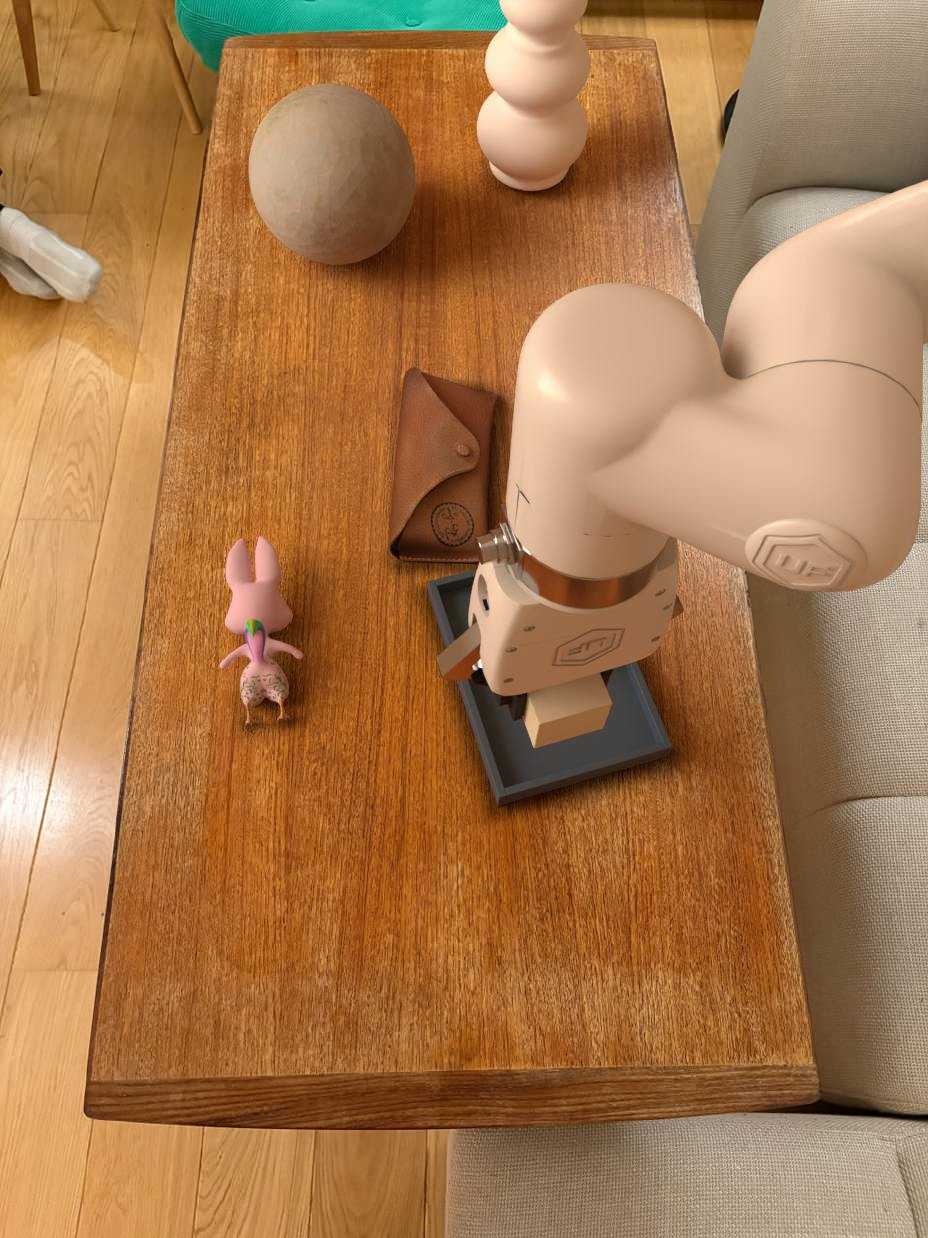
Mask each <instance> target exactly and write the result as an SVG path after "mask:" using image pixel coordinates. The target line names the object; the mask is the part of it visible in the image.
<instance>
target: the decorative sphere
mask: <svg viewBox="0 0 928 1238" xmlns="http://www.w3.org/2000/svg"><path fill="white" fill-rule="evenodd" d="M249 151H250V152H249V156H248V170H247V171H248V183H249V188H250V193H251V196H252V199H253V202H254V205H255V209H256V210H257V212H258V214H259V216H260V218H261V220H262V222H263V223H264V225H265V226H266V228H267V229H268V230H269V232H271V234H272V235H273V236H274V237H275V238H276V240H277V241H279V242H280V244H282V245H283V247H285V248H287V249H288V250H290V251H292V252H293V253H295V254H296V255H298V256H299V257H302V258H303V259H306V260H309V261H312V262H315V263H319V264H325V265H333V266H334V265H335V266H336V265H337V266H339V265H350V264H354V263H358V262H361V261H364V260H366V259H369V258H371V257H373V256H375V255H377V253H380V252H381V251H382V250H384V249H385V248H386V247H387V246H388V245H390V244H391V243H392V241H393V240H394V239H395V238H396V237H397V235H398V234H399V233H400V231H401V230H402V229H403V227H404V226H405V224H406V222H407V220H408V218H409V215H410V213H411V209H412V206H413V204H414V201H415V200H414V199H415V194H416V193H415V192H416V186H417V185H416V184H417V177H416V163H415V160H414V159H415V158H414V155H413V150H412V146H411V144H410V142H409V138H408V137H407V135H406V133H405V131H404V128H403V127H402V126H401V124H400V122H399V121H398V119H397V118H396V117H395V116H394V115H393V113H392V112H391V111H390V110H389V109H388V108H387V107H386V106H384V104H383V103H381V102H380V101H379V100H377V99H376V98H375V97H373V96H371V95H370V94H369V93H366V92H364V91H363V90H360V89H358V88H355V87H352V86H349V85H346V84H341V83H340V84H339V83H316V84H312V85H307V86H304V87H301V88H299V89H297V90H294V91H292V92H290V93H289V94H287V95H286V96H284V97H282V98H281V99H280V100H279V101H277V102H276V103H275V104H274V105H273V106H272V107H271V108H270V110H269V111H268V112H267V113H266V114H265V115H264V116H263V119H262V120H261V121H260V123H259V125H258V127H257V130H256V132H255V134H254V136H253V140H252V142H251V147H250V150H249Z"/></svg>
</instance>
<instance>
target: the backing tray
mask: <svg viewBox="0 0 928 1238" xmlns="http://www.w3.org/2000/svg"><path fill="white" fill-rule="evenodd" d="M476 571H477V568H474V569H471V570H467V571H463V572H459V573H456V574H455V573H454V574H451V575H447V576H444V577H439V578H435V579H432V580H428V581H427V594H428V598H429V601H430V604H431V607H432V610H433V613H434V616H435V620H436V622H437V625H438V627H439V631H440V634H441V637H442V640H443V641H442V642H443V643H444V647H445V649H446V648H448V647H449V646H450V645H451V644H452V643H453V642H454V641H455V640H456V639H458V638H459V637H460V636H461V635H462V634H463V633H464V632H465V631H466V630H468V629H469V623H468V615H469V606H470V598H471V592H472V587H473V583H474V579H475V575H476ZM456 683H457V687H458V689H459V693H460V696H461V699H462V701H463V705H464V708H465V711H466V714H467V716H468V720H469V723H470V726H471V729H472V732H473V735H474V738H475V742H476V744H477V747H478V750H479V753H480V757H481V760H482V762H483V766H484V770H485V771H486V775H487V778H488V781H489V784H490V787H491V790H492V792H493V797H494V799H495V802H496V805H497V807H499V806H503V805H506V804H509V803H513V802H517V801H520V800H524V799H527V798H530V797H533V796H538V795H541V794H543V793H547V792H551V791H555V790H558V789H561V788H564V787H565V788H566V787H568V786H571V785H574V784H578V783H582V782H585V781H588V780H591V779H595V778H599V777H602V776H605V775H609V774H613V773H616V772H619V771H623V770H626V769H629V768H633V767H636V766H639V765H643V764H647V763H650V762H653V761H658V760H660V759H664V758H666V757H669V755H670V753H671V751H672V749H673V747H674V746H673V743H672V741H671V739H670V736H669V734H668V732H667V729H666V727H665V724H664V722H663V720H662V718H661V715H660V712H659V710H658V708H657V705H656V703H655V701H654V698H653V696H652V694H651V691H650V689H649V687H648V685H647V682H646V679H645V677H644V674H643V672H642V670H641V667H640V665H639V663H638V661H635V662H632V663H629V664H626V665H623V666H620V667H616V668H614V669H613V672H612V674H611V675H610V678H609V681H608V684H607V687H606V689H607V691H608V694H609V696H610V699H611V701H612V705H611V708H610V711H609V714H608V716H607V719H606V722H605V724H604V727H603V728H602V729H599V730H596V731H592V732H589V733H585V734H582V735H579V736H575V737H572V738H568V739H565V740H562V741H558V742H555V743H551V744H548V745H545V746H541V747H538V748H534V747H533V745H532V742H531V739H530V736H529V734H528V731H527V728H526V725H525V723H524V720H523V717H522V719H520V720H516V721H513V719H512V717H511V714H510V711H509V708H508V705H503V706H500V707H499V706H498V704H497V701H496V698H495V696H494V693H493V691H492V690H491V689H490V687H489V686H484V685H477V684H474V683H473V681H472V679H467V680H466V681H456Z"/></svg>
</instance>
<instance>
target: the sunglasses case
mask: <svg viewBox="0 0 928 1238" xmlns="http://www.w3.org/2000/svg"><path fill="white" fill-rule="evenodd" d="M497 396H498V395H497V393H496V392H495V391H489V390H478V389H474V388H472V387H468V386H466V385H462V384H460V383H456V382H453V381H450V380H448V379H444V378H442V377H438V376H436V375H433V374H430V373H427V372H424V371H422V370H421V368H419V367H417V366H412V367H410V368H408V369H407V371H405V373H404V376H403V382H402V391H401V399H400V408H399V418H398V426H397V439H396V448H395V449H396V450H395V461H394V470H393V471H394V472H393V482H392V494H391V505H390V518H389V519H390V521H389V534H388V535H389V536H388V537H389V541H388V548H389V552H390V554H391V555H392V556H393V557H395V558H396V559H398V560H400V561H402V562H409V563H411V562H412V563H428V564H429V563H430V564H464V563H465V564H475V563H480V561H479V559H478V556H477V553H476V549H475V543H474V537H476V536H480V535H484V534H488V533H489V528H490V527H489V512H488V510H489V509H488V506H489V505H488V503H489V502H488V501H489V498H488V497H489V476H490V475H489V474H490V473H489V471H490V452H491V442H492V441H491V440H492V439H491V438H492V430H493V420H494V415H495V408H496V402H497Z"/></svg>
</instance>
